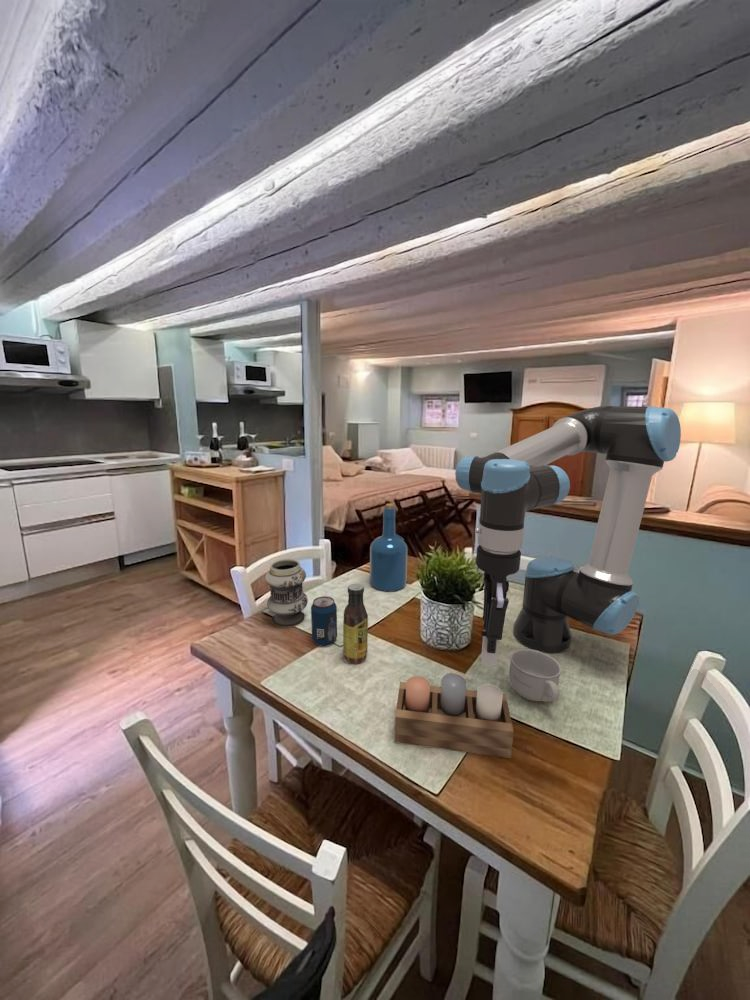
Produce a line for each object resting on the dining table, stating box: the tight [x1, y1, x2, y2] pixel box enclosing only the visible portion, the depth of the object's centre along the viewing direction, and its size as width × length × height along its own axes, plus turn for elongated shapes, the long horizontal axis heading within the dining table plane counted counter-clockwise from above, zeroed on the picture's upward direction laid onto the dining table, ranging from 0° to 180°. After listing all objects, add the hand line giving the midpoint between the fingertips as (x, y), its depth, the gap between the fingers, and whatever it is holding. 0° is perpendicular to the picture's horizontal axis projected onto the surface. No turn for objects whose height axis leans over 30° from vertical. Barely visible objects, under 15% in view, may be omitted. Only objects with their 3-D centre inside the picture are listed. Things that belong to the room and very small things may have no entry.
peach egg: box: [405, 675, 431, 713], centre depth 82 cm, size 5×5×6 cm
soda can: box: [310, 595, 338, 647], centre depth 112 cm, size 7×7×12 cm
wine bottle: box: [369, 503, 409, 592], centre depth 144 cm, size 14×13×30 cm
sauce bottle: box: [342, 583, 369, 665], centre depth 103 cm, size 6×6×20 cm
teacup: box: [508, 648, 562, 702], centre depth 92 cm, size 14×11×8 cm
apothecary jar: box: [265, 558, 309, 629], centre depth 122 cm, size 12×12×18 cm
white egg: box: [475, 683, 504, 722], centre depth 80 cm, size 5×5×6 cm
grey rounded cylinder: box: [440, 672, 467, 716], centre depth 81 cm, size 5×5×6 cm
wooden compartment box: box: [393, 681, 515, 759], centre depth 82 cm, size 22×10×6 cm, turn 81°
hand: (488, 663), depth 78 cm, fingers closed
